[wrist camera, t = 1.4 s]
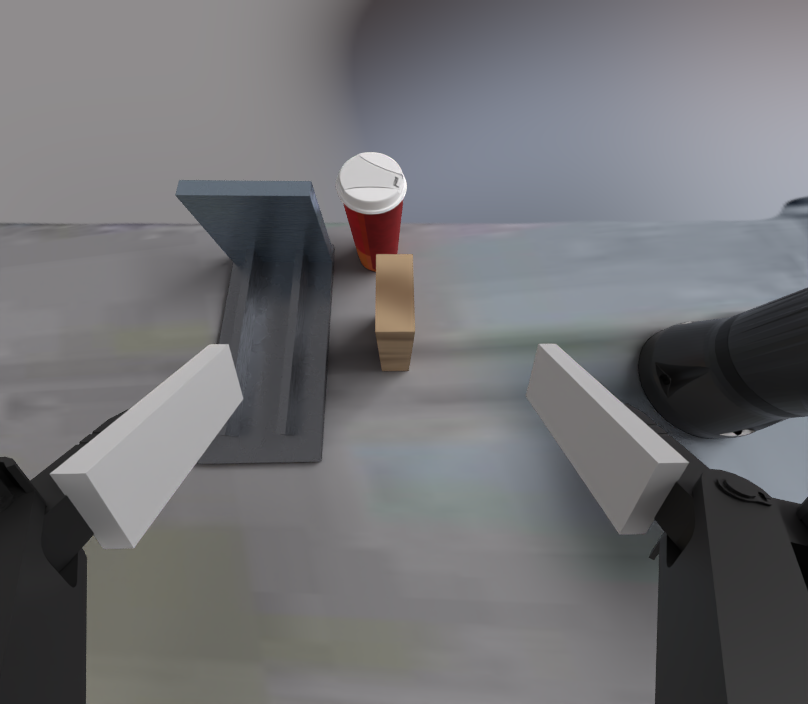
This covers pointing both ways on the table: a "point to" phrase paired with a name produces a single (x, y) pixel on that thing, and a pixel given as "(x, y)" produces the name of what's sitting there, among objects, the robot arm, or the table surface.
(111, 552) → the table surface
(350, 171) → the paper cup
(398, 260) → the door panel
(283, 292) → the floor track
